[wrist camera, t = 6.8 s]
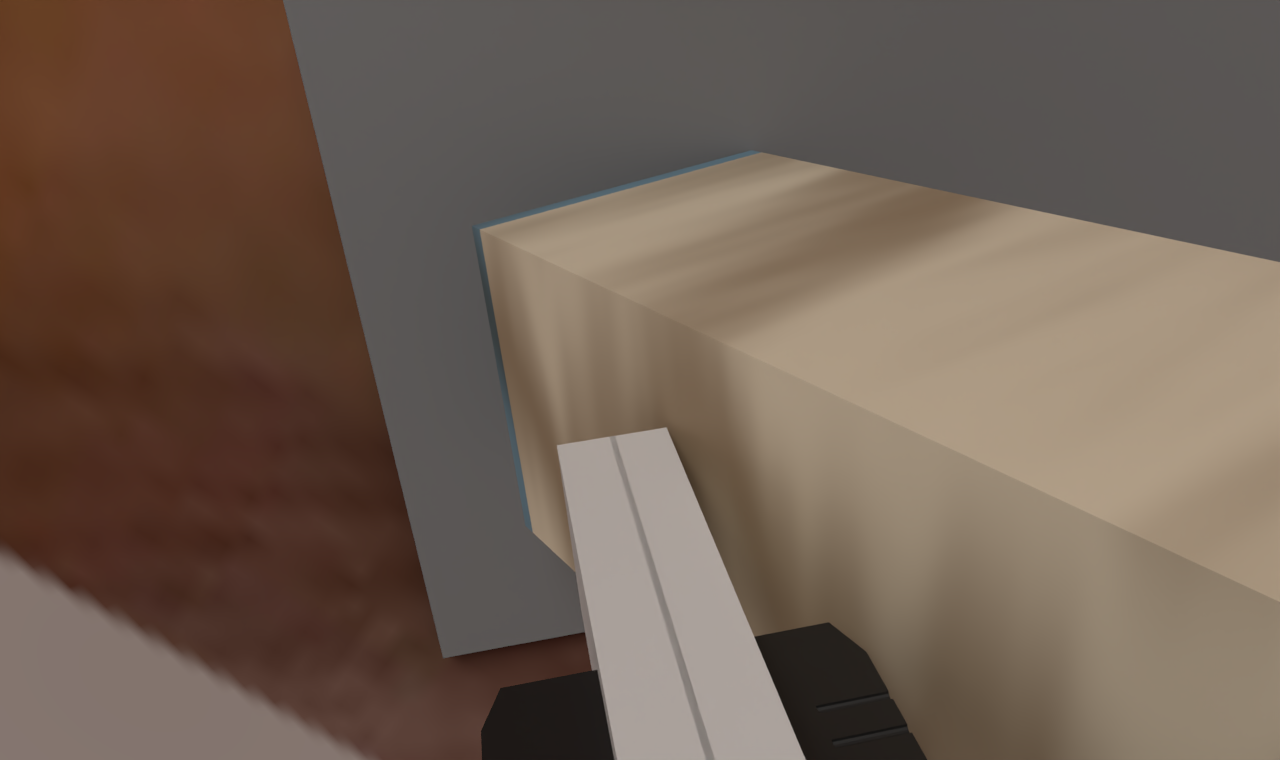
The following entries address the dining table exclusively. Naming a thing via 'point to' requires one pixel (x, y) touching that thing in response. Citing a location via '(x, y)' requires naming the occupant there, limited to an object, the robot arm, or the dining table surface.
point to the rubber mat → (713, 129)
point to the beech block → (932, 439)
